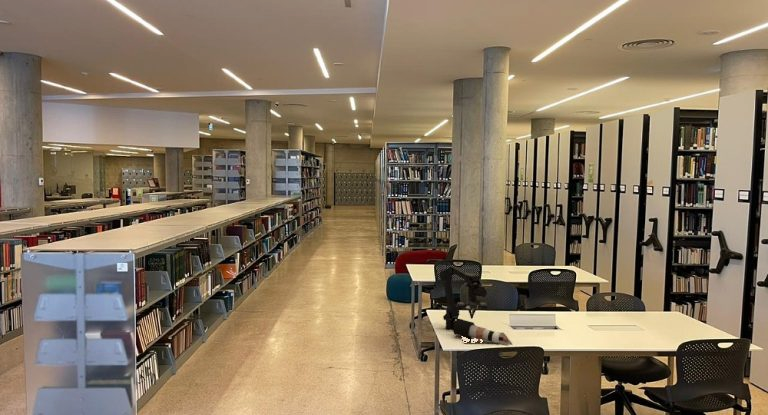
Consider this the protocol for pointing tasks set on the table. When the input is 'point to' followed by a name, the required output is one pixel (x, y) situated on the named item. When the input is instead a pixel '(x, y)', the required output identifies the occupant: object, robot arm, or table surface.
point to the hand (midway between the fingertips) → (471, 318)
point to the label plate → (490, 341)
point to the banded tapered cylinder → (476, 331)
